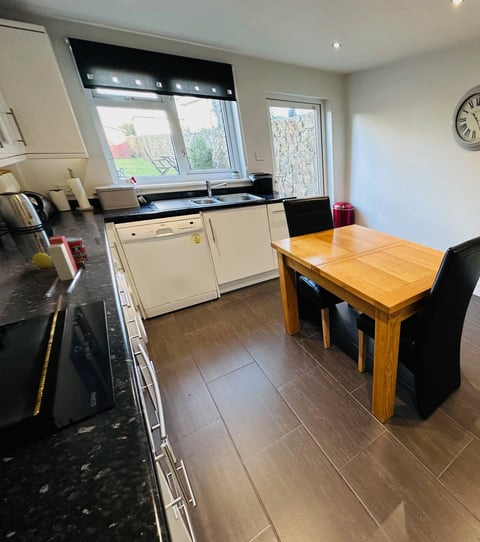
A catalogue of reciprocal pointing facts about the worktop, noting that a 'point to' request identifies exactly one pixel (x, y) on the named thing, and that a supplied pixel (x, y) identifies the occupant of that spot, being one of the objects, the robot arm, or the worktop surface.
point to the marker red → (63, 240)
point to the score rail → (68, 289)
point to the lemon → (42, 260)
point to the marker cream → (61, 261)
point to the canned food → (77, 249)
